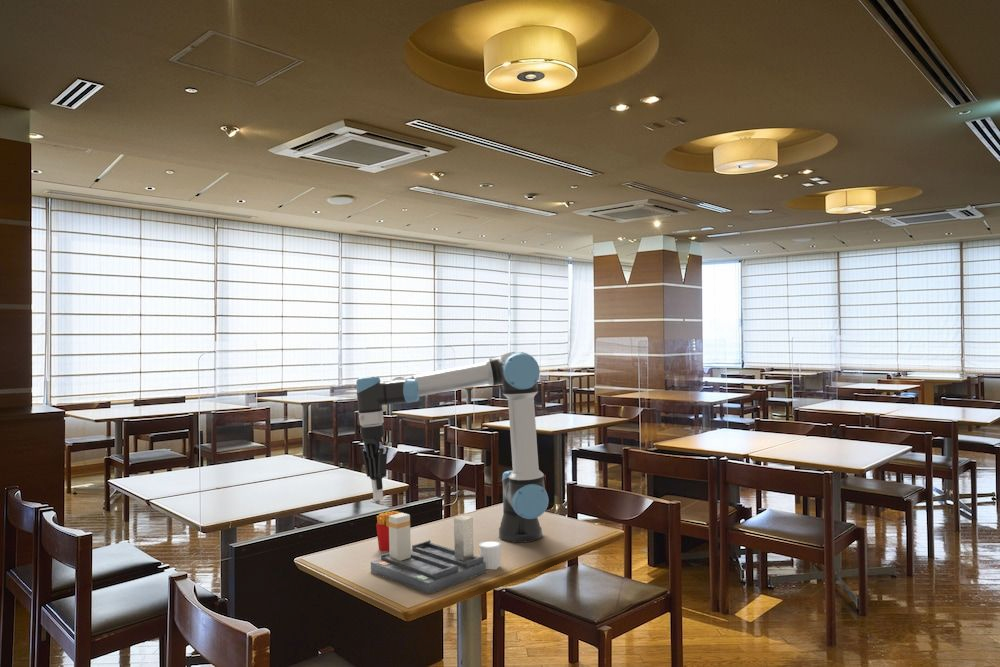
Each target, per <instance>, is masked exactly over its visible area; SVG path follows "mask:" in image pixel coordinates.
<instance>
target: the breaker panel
mask: <svg viewBox="0 0 1000 667" xmlns="http://www.w3.org/2000/svg"><path fill="white" fill-rule="evenodd" d="M453 528H454V530H453V531H454V533H453V537H454V539H453V540H454V542H453V543H454V548H450V547H447V546H443V545H440V544H437V543H434V542H431V540H426V541H422V542H419V543H416V544H415V543H414V544H413V545H411V558H408V559H404V560H401V561H400V560H397V559H394V558H391V557H389V552H386V553H382V554H380V558H379V559H375V560H372V561H370V572H371V573H373V572H374V573H373V574H375V573H376V574H375V575H378V574H379V576H380V575H381V576H380V577H383V576H384V577H383V578H386V579H388V578H389V579H388V580H391V579H392V580H391V581H393V580H394V582H396V581H397V583H398V582H399V584H402V585H404V586H406V587H409V588H411V589H414V590H418V591H419V592H422V593H425V594H427V595H431V594H433V593H435V592H438V591H441V590H444V589H446V588H448V587H452V586H453V585H457V584H459V583H461V582H465V581H467V579H468V580H470V579H472V578H471V577H473V578H475V577H477V576H476V575H478V576H480V575H479V574H481V575H483V574H485V572H486V573H487V570H486V562H483V557H482V556H481V557H480V556H476V555H474V554H475V552H474V548H475V547H474V518H473V517H472V516H468V515H460V516H457V517H453ZM482 573H483V574H482ZM474 576H475V577H474ZM469 578H470V579H469ZM464 580H465V581H464Z"/></svg>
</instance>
